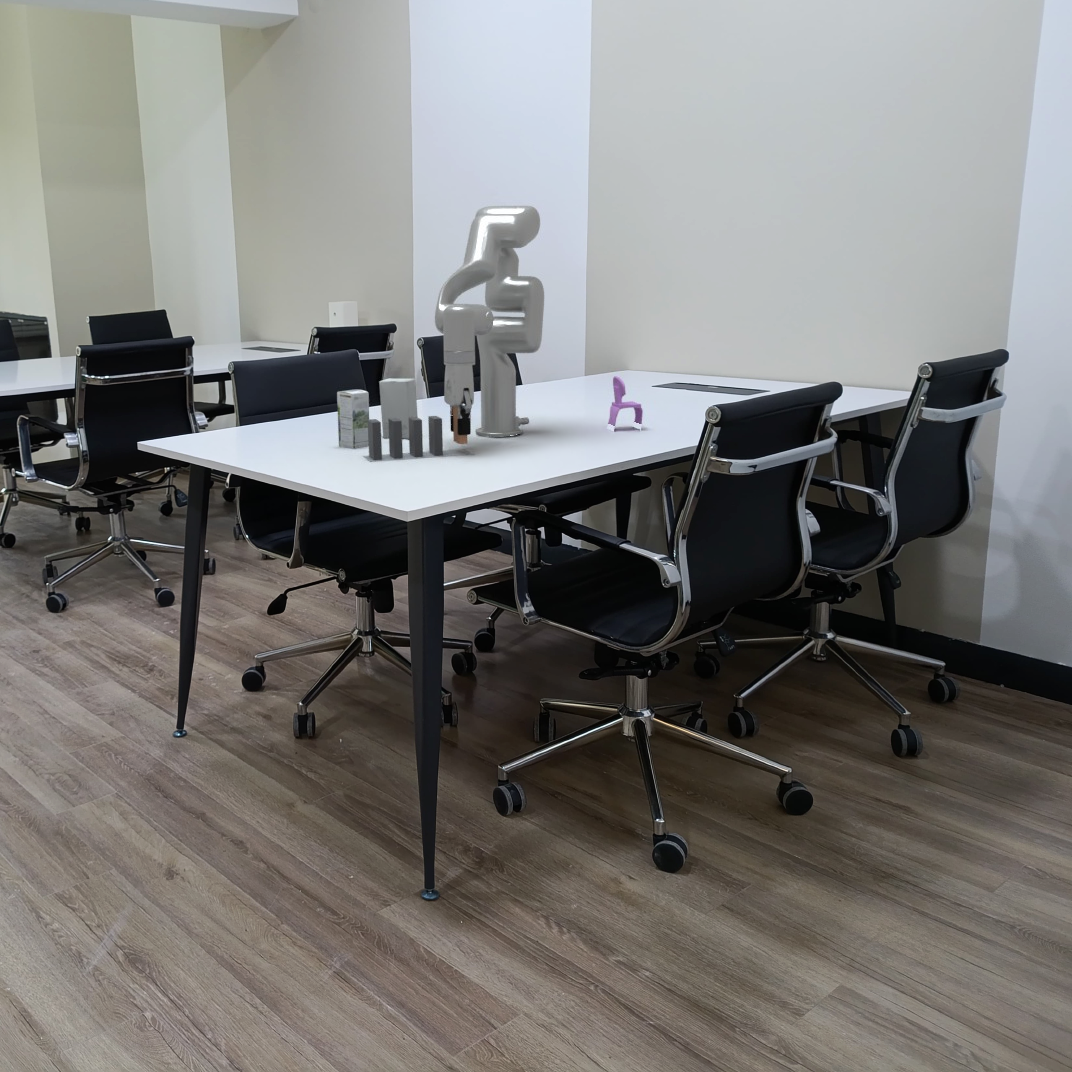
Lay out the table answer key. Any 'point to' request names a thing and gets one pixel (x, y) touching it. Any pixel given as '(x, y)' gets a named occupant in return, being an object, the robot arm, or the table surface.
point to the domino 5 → (457, 438)
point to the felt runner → (425, 455)
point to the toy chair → (622, 403)
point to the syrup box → (353, 418)
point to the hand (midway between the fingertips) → (460, 432)
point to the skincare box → (398, 403)
